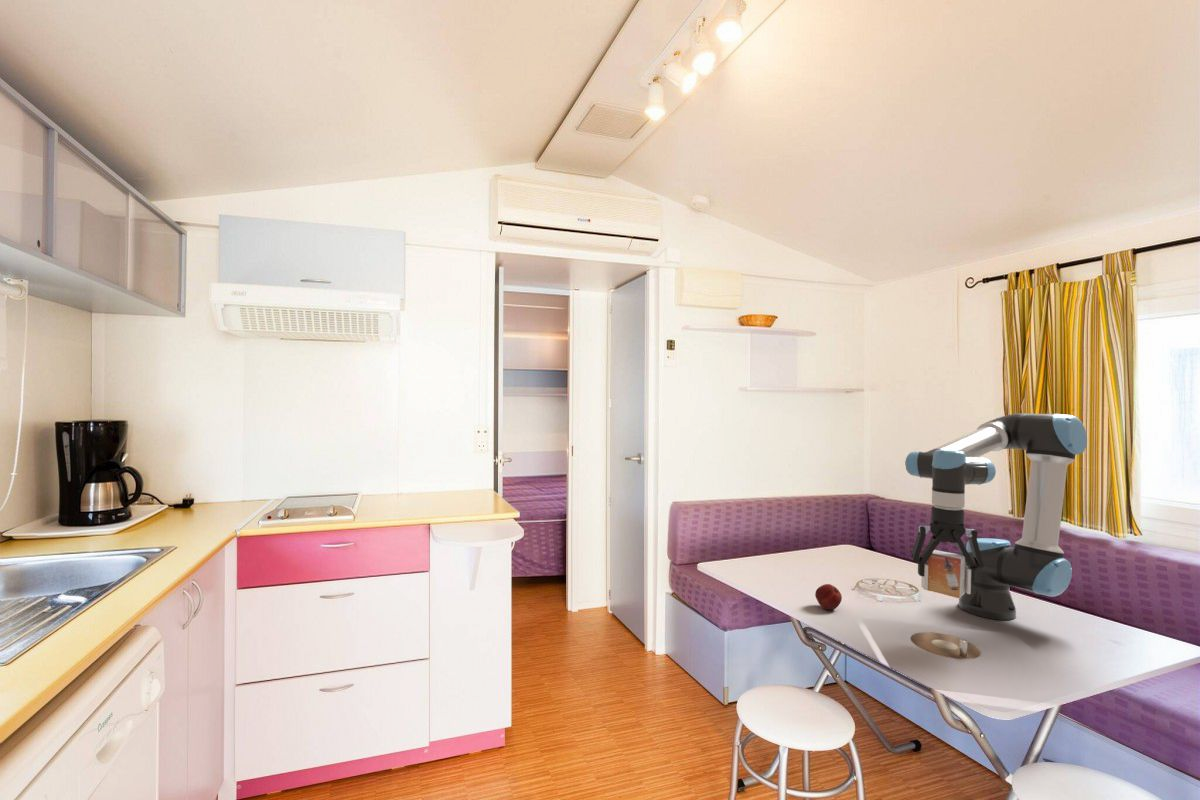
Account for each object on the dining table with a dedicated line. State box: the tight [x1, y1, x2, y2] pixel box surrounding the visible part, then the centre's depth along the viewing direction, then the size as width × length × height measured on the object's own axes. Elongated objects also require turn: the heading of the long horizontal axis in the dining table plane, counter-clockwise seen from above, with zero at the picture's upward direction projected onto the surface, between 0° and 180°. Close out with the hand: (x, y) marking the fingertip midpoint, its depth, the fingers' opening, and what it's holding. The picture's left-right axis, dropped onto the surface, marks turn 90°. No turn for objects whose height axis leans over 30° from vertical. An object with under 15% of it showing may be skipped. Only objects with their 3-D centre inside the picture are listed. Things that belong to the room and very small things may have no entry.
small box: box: [926, 549, 966, 599], centre depth 148 cm, size 8×6×10 cm
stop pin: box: [960, 638, 968, 658], centre depth 141 cm, size 2×2×4 cm
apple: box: [814, 583, 843, 611], centre depth 176 cm, size 7×8×8 cm
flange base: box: [910, 631, 982, 660], centre depth 148 cm, size 16×16×2 cm
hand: (945, 590), depth 148 cm, fingers closed on small box, 9 cm apart
